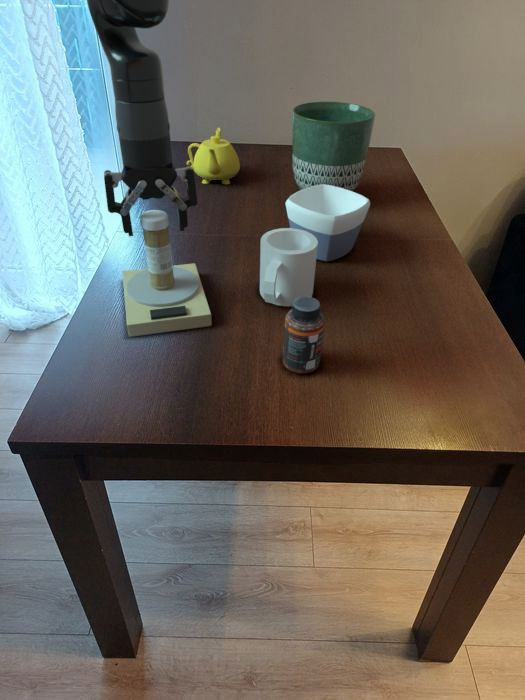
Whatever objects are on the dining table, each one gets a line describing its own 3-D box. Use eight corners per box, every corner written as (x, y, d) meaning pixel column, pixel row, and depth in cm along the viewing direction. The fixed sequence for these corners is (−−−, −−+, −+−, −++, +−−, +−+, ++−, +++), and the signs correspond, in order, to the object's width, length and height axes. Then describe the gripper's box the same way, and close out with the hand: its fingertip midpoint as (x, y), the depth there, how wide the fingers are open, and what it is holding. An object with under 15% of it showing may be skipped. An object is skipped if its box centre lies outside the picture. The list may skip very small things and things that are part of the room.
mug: (297, 321, 87) (301, 268, 80) (244, 308, 90) (244, 255, 83) (319, 284, 97) (324, 234, 90) (270, 273, 100) (272, 224, 93)
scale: (129, 337, 83) (126, 322, 81) (124, 282, 96) (121, 268, 94) (211, 325, 85) (210, 311, 84) (195, 274, 99) (194, 260, 97)
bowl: (273, 247, 108) (275, 198, 101) (317, 226, 117) (321, 180, 110) (330, 273, 100) (336, 221, 93) (371, 248, 109) (380, 199, 102)
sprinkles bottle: (170, 275, 92) (163, 207, 84) (178, 287, 89) (171, 217, 81) (146, 281, 91) (136, 211, 82) (153, 293, 87) (143, 222, 79)
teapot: (192, 166, 148) (189, 125, 141) (242, 167, 148) (241, 126, 140) (182, 191, 132) (178, 147, 125) (237, 193, 132) (237, 148, 125)
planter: (362, 188, 137) (375, 104, 123) (361, 217, 122) (375, 125, 108) (292, 182, 139) (297, 99, 125) (283, 210, 124) (287, 119, 110)
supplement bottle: (321, 376, 76) (328, 315, 69) (282, 375, 76) (286, 314, 69) (318, 351, 81) (325, 292, 73) (281, 350, 81) (285, 291, 73)
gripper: (188, 121, 77) (194, 219, 88) (94, 125, 74) (112, 226, 85) (195, 135, 72) (201, 237, 82) (94, 140, 69) (113, 246, 79)
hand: (156, 231), depth 83 cm, fingers open, 8 cm apart
